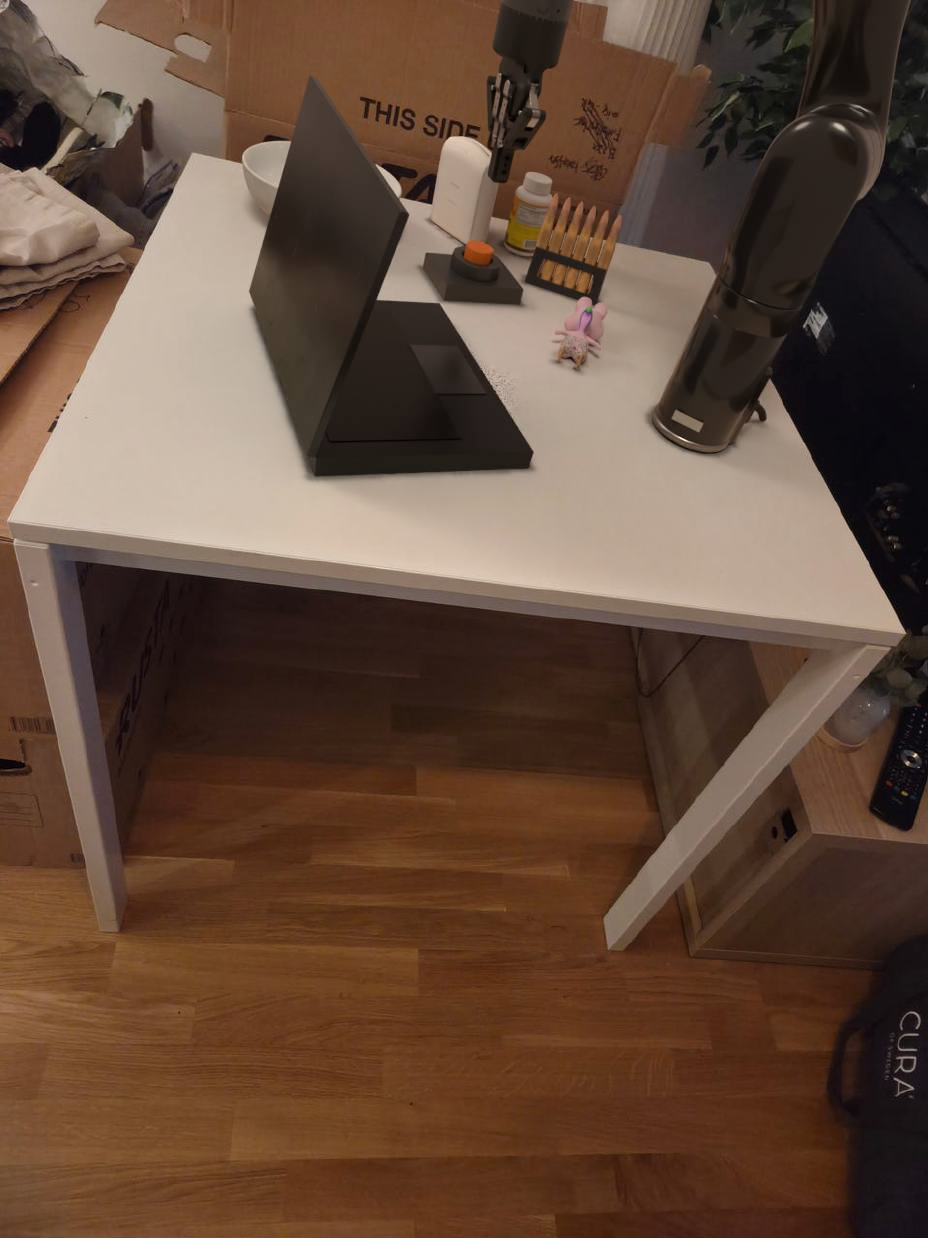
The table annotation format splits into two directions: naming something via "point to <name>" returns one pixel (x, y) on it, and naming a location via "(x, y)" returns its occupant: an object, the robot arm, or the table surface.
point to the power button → (478, 252)
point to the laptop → (417, 402)
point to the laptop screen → (323, 260)
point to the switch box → (471, 279)
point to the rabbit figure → (582, 330)
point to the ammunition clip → (576, 259)
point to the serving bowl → (278, 172)
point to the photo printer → (464, 190)
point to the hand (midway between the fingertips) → (496, 180)
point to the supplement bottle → (528, 214)
